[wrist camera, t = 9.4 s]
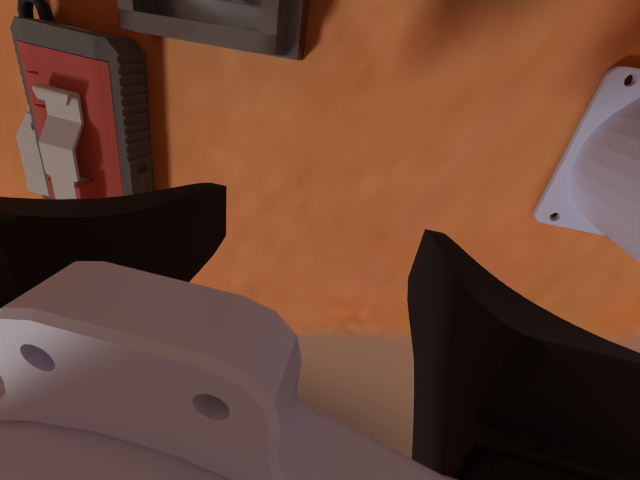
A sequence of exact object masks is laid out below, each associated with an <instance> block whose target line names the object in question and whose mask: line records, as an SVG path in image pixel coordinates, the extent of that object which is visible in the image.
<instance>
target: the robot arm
mask: <svg viewBox="0 0 640 480" xmlns="http://www.w3.org/2000/svg"><path fill="white" fill-rule="evenodd" d="M630 74H631V75H632V77H633V78H632V81H631V82H630V84H628V85H626V86H625V84H624V80H625V78H626V77H627V76H629V75H630ZM553 213H557V216H556V217H554V218H550V215H551V214H553ZM534 217H535V218H536V219H537V221H539V222H541V223H546V224H551V225H556V226H560V227H565V228H570V229H575V230H580V231H584V232H589V233H594V234H599V235H604V236H607V237H608V238H609V239H611V240H612V241H613V242H614V243H615V244H617V245H618V246H619V247H620V248H622V249H623V250H624V251H625V252H627V253H628V254H629V255H630V256H632V257H633V258H634V259H635V260H636V261H638V262H639V263H640V69H639V68H633V67H627V66H616V67H614V68H611V69H610V70H609V71H607V73H606V74H605V75H604V77H603V79H602V81H601V83H600V85H599V86H598V88H597V90H596V92H595V94H594V96H593V98H592V100H591V102H590V104H589V106H588V108H587V110H586V112H585V114H584V116H583V117H582V119H581V121H580V123H579V125H578V127H577V129H576V131H575V133H574V135H573V137H572V139H571V141H570V143H569V145H568V147H567V148H566V150H565V152H564V154H563V156H562V158H561V160H560V162H559V164H558V166H557V168H556V170H555V172H554V174H553V176H552V178H551V179H550V181H549V183H548V185H547V187H546V189H545V191H544V193H543V195H542V197H541V199H540V201H539V203H538V205H537V207H536V209H535V210H534ZM225 236H226V186H223V185H219V184H214V183H198V184H191V185H186V186H180V187H175V188H169V189H164V190H158V191H152V192H146V193H140V194H133V195H126V196H117V197H105V198H91V199H27V198H8V197H0V480H640V353H638V352H636V351H633V350H631V349H628V348H626V347H623V346H621V345H618V344H615V343H613V342H610V341H608V340H606V339H603V338H601V337H599V336H597V335H595V334H593V333H590V332H588V331H586V330H584V329H582V328H580V327H577V326H575V325H573V324H571V323H569V322H567V321H565V320H563V319H561V318H559V317H558V316H556V315H554V314H552V313H550V312H549V311H547V310H545V309H543V308H541V307H540V306H538V305H536V304H534V303H533V302H531V301H529V300H528V299H526V298H524V297H523V296H521V295H520V294H518V293H517V292H515V291H514V290H512V289H511V288H509V287H508V286H506V285H505V284H504V283H502V282H501V281H500V280H498V279H497V278H496V277H494V276H493V275H492V274H491V273H489V272H488V271H487V270H486V269H484V268H483V267H482V266H481V265H480V264H478V263H477V262H476V261H475V260H474V259H473V258H472V257H470V256H469V255H468V254H467V253H466V252H465V251H464V250H463V249H462V248H461V247H460V246H458V245H457V244H456V243H455V242H454V241H453V240H452V239H451V238H449V237H448V236H447V235H445V234H444V233H440V232H436V231H431V230H427V229H425V231H424V234H423V237H422V240H421V243H420V246H419V248H418V251H417V254H416V257H415V260H414V263H413V266H412V269H411V272H410V274H409V277H408V299H407V301H408V311H409V320H410V328H411V337H412V345H413V354H414V424H413V448H412V449H413V450H412V459H411V458H409V457H407V456H405V455H403V454H401V453H400V452H398V451H396V450H394V449H392V448H390V447H388V446H386V445H384V444H383V443H381V442H379V441H377V440H375V439H373V438H371V437H370V436H368V435H366V434H364V433H362V432H360V431H358V430H356V429H354V428H353V427H351V426H349V425H347V424H345V423H343V422H341V421H340V420H338V419H336V418H334V417H332V416H330V415H328V414H326V413H325V412H323V411H321V410H319V409H317V408H315V407H313V406H311V405H310V404H308V403H306V402H304V401H302V400H300V399H299V397H298V379H299V374H300V368H301V362H302V360H301V354H300V349H299V343H298V338H297V335H296V334H295V333H294V332H293V331H292V329H291V328H290V327H289V326H288V325H287V324H286V323H285V322H284V320H283V319H282V318H281V317H280V316H279V315H278V314H277V312H276V311H274V310H272V309H270V308H268V307H265V306H263V305H261V304H259V303H257V302H255V301H253V300H251V299H248V298H246V297H244V296H241V295H237V294H233V293H229V292H225V291H221V290H217V289H213V288H209V287H205V286H201V285H197V284H193V283H189V282H190V280H191V279H192V278H193V277H194V276H195V275H196V274H197V273H198V272H199V271H200V269H201V268H202V267H203V266H204V265H205V264H206V263H207V262H208V260H209V259H210V258H211V257H212V256H213V255H214V253H215V252H216V250H217V249H218V247H219V246H220V244H221V243H222V241H223V239H224V238H225Z"/></svg>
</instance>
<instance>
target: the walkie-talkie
mask: <svg viewBox="0 0 640 480" xmlns="http://www.w3.org/2000/svg"><path fill="white" fill-rule="evenodd" d="M33 5H35V7H36V9H37V11H38V14H39V18H40V19H34V17H33ZM18 14H19V17H15V16H14V18H13V21H12V24H11V28H10V30H11V32H12V36H13V38H12V39H13V42H14V45H15V52H16V54H17V58H18V64H19V66H20V73H21V75H22V79H23V81H22V82H23V85H24V88H25V94H26V96H27V103H28V104H27V107H28V112H27V114H26V116H25V118H24V120H23V122H22V124H21V126H20V128H19V130H18V132H17V134H16V138H17V142H18V146H19V150H20V153H21V157H22V161H23V165H24V169H25V173H26V177H27V180H26V184H27V188H28V191H31V192H34V193H38V194H42V196H43V199H91V198H105V197H117V196H126V195H133V194H140V193H146V192H152V191H154V184H153V168H152V153H150V148H151V145H150V140H151V137H150V136H149V132H150V128H149V124H148V123H150V120H148V114H149V111H148V108H147V105H149V103H148V102H147V96H148V93H147V92H146V87H148V86H147V83H146V77H147V74H146V73H145V67H146V64H145V62H144V57H146V55H145V54H144V53H143V51H142V50H141V48H140V47H139V45H138V44H137V43H136V41H135V40H132V39H127V38H123V37H119V36H115V35H110V34H106V33H102V32H97V31H93V30H89V29H85V28H80V27H76V26H72V25H67V24H63V23H59V22H55V21H54V19H53V15H52V12H51V10H50V7H49V5H48V3H47V2H46V1H45V0H18Z"/></svg>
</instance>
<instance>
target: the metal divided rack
mask: <svg viewBox="0 0 640 480" xmlns="http://www.w3.org/2000/svg"><path fill="white" fill-rule="evenodd" d="M117 5H118V13H119V21H120V28H122V29H128V30H134V32H139V33H145V34H151V35H156V36H162V37H168V38H174V39H179V40H185V41H191V42H196V43H202V44H208V45H214V46H219V47H225V48H231V49H237V50H242V51H248V52H254V53H259V54H265V55H271V56H277V57H282V58H288V59H294V60H303V52H304V43H305V34H306V24H307V15H308V6H309V0H252V5H249V4H243V3H236V2H230V1H224V0H117Z"/></svg>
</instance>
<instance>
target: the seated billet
mask: <svg viewBox="0 0 640 480" xmlns="http://www.w3.org/2000/svg"><path fill="white" fill-rule="evenodd" d="M224 1H230V2H236V3H243V4H249V5H252V0H224Z"/></svg>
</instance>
